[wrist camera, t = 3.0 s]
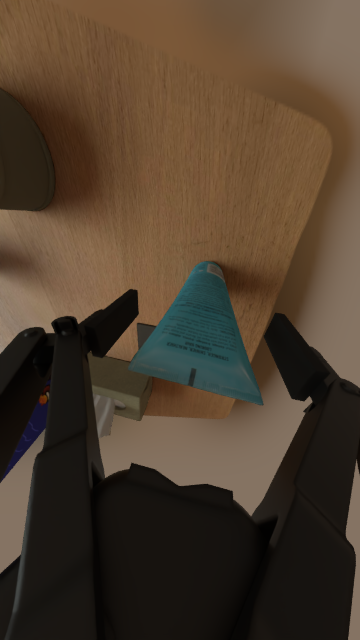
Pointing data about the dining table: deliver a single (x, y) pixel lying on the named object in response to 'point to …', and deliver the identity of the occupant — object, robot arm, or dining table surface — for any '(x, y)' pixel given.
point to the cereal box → (32, 427)
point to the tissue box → (117, 391)
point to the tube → (200, 341)
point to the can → (23, 160)
